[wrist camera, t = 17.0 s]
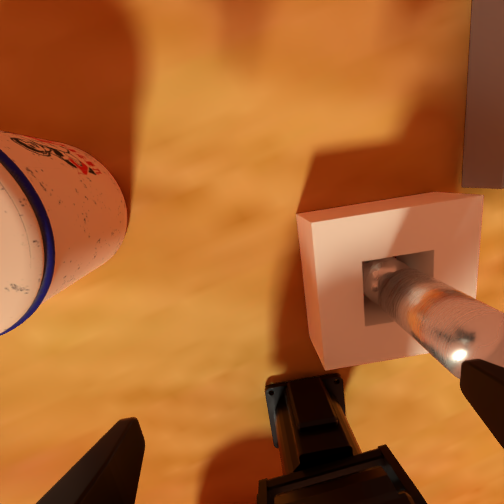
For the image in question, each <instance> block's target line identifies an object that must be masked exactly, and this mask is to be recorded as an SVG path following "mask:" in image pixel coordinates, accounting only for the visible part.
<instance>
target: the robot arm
mask: <svg viewBox="0 0 504 504" xmlns="http://www.w3.org/2000/svg"><path fill="white" fill-rule="evenodd" d="M336 379H338V380H337V381H335V380H336ZM460 388H461V391H462V393H463V395H464V396H465V397H466V399H467V400H468V402H469V403H470V404H471V406H472V407H473V408H474V410H475V411H476V412H477V414H478V415H479V416H480V418H481V419H482V420H483V422H484V423H485V424H486V426H487V427H488V428H489V430H490V431H491V433H492V434H493V435H494V437H495V438H496V439H497V441H498V442H499V443H500V445H501V446H502V447H503V448H504V367H501V366H498V365H496V364H493V363H490V362H487V361H485V360H482V359H471V360H465V361H463V362H462V364H461V374H460ZM271 390H272V392H269V391H271ZM265 395H266V401H267V407H268V413H269V419H270V425H271V430H272V436H273V442H274V446H275V447H276V448H279V451H280V458H281V464H282V470H283V476H279V477H276V478H272V479H269V480H267V478H266V479H262V480H259V493H258V494H257V504H427V503H426V501H425V500H424V498H423V497H422V495H421V494H420V492H419V491H418V489H417V488H416V486H415V485H414V484H413V482H412V481H411V479H410V478H409V477H408V475H407V474H406V472H405V471H404V469H403V468H402V467H401V465H400V464H399V462H398V461H397V459H396V458H395V457H394V455H393V454H392V452H391V451H390V449H389V448H388V447H387V445H386V444H385V445H381V446H378V448H377V449H374V450H370V451H367V452H363V453H362V452H361V450H360V447H359V445H358V443H357V441H356V439H355V437H354V434H353V432H352V430H351V428H350V426H349V423H348V421H347V419H346V417H345V404H344V390H343V380H342V378H341V376H340V375H339V374H337V373H335V374H329V375H323V376H317V377H311V378H305V379H299V380H294V381H288V382H282V383H276V384H270V385H267V386H266V388H265ZM144 450H145V440H144V437H143V434H142V431H141V428H140V425H139V422H138V420H137V418H135V417H131V418H125V419H121V420H119V421H118V422H117V423H116V424H115V425H114V426H113V427H112V428H111V429H110V430H109V431H108V432H107V433H106V434H105V435H104V436H103V437H102V438H101V439H100V440H99V441H98V442H97V443H96V444H95V445H94V446H93V447H92V448H91V449H90V450H89V451H88V452H87V453H86V454H85V455H84V456H83V457H82V458H81V459H80V460H79V461H78V462H77V463H76V464H75V465H74V466H73V467H72V468H71V469H70V470H69V471H68V472H67V473H66V474H65V475H64V476H63V477H62V478H61V479H60V480H59V481H58V482H57V483H56V484H55V485H54V486H53V487H52V488H51V489H50V490H49V491H48V492H47V493H46V494H45V495H44V496H43V497H42V498H41V499H40V500H39V501H38V502H37V503H36V504H135V498H136V493H137V488H138V482H139V477H140V472H141V466H142V461H143V456H144Z"/></svg>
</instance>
